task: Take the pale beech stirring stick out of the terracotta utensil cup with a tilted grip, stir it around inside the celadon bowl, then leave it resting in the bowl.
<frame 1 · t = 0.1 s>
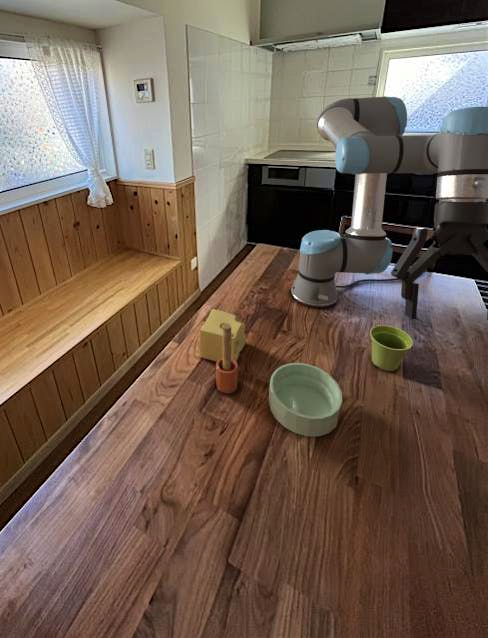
hand: (451, 319, 61), 28 cm above the table, tool tilted 20°, fingers open, 13 cm apart
bowl: (302, 407, 77), on the table
cheese: (222, 352, 95), on the table
stick: (226, 384, 83), point 1 cm above the table, touching utensil cup
utensil cup: (226, 386, 84), on the table
plant pot: (384, 363, 88), on the table
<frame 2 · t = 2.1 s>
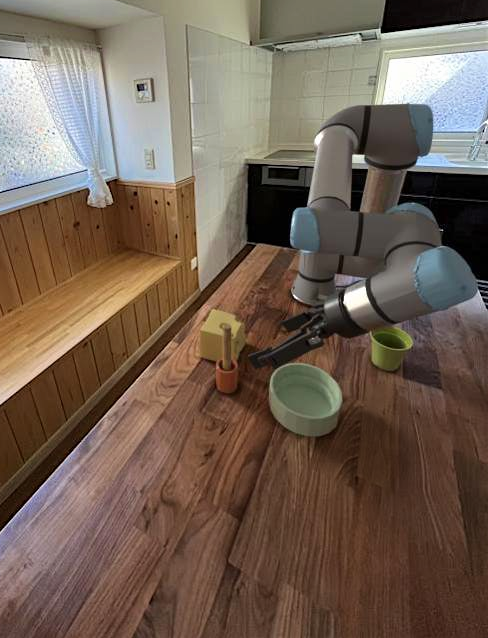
hand: (269, 343, 69), 19 cm above the table, tool tilted 45°, fingers open, 13 cm apart
nothing on the table moved.
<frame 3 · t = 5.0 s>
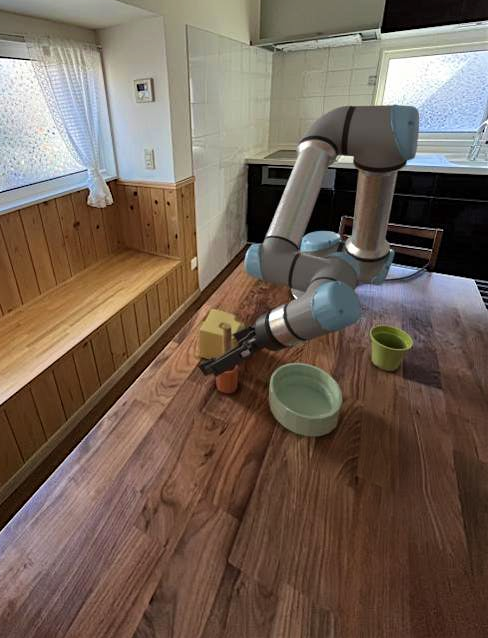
hand: (220, 353, 81), 10 cm above the table, tool tilted 45°, fingers open, 13 cm apart
cheese: (222, 351, 95), on the table, touching gripper
everything else where it was.
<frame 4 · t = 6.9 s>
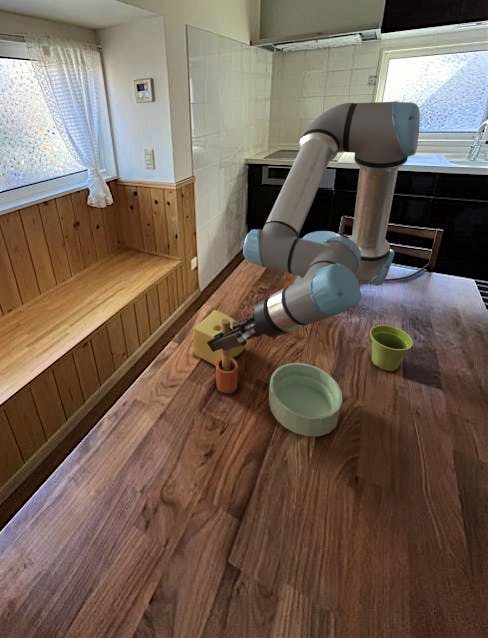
hand: (214, 343, 82), 11 cm above the table, tool tilted 45°, fingers closed on stick, 2 cm apart
cheese: (218, 354, 94), on the table
stick: (226, 380, 83), point 2 cm above the table, touching gripper
everything else where it was.
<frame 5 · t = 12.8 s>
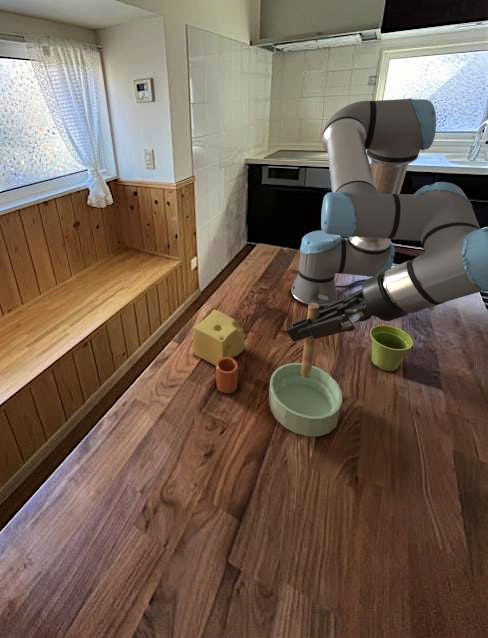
hand: (293, 332, 72), 20 cm above the table, tool tilted 45°, fingers closed on stick, 2 cm apart
stick: (305, 374, 73), point 10 cm above the table, touching gripper
everything else where it was.
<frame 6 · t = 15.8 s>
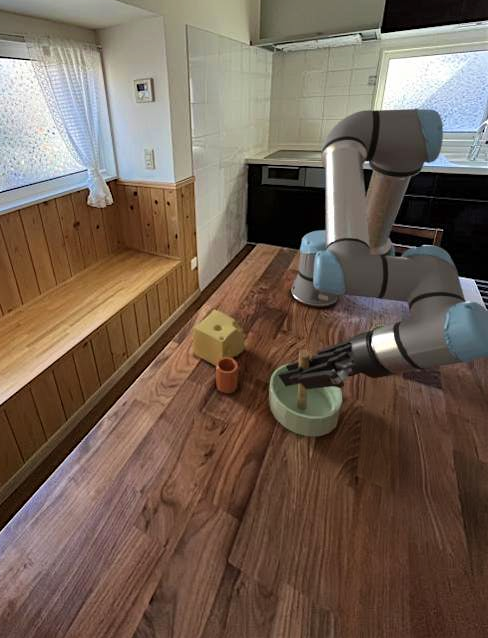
hand: (286, 375, 74), 10 cm above the table, tool tilted 45°, fingers closed on stick, 3 cm apart
stick: (302, 405, 77), point 1 cm above the table, tilted 10°, touching bowl, gripper
everything else where it was.
when the fingers open (8 cm above the table, at t = 18.6 s): stick stays where it is and tips over, resting on bowl.
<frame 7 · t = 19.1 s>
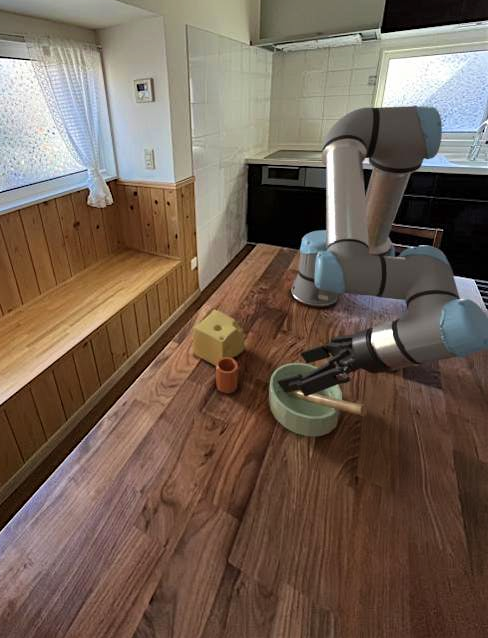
hand: (293, 371, 75), 9 cm above the table, tool tilted 45°, fingers open, 10 cm apart
stick: (289, 392, 79), point 1 cm above the table, tilted 63°, touching bowl
everything else where it was.
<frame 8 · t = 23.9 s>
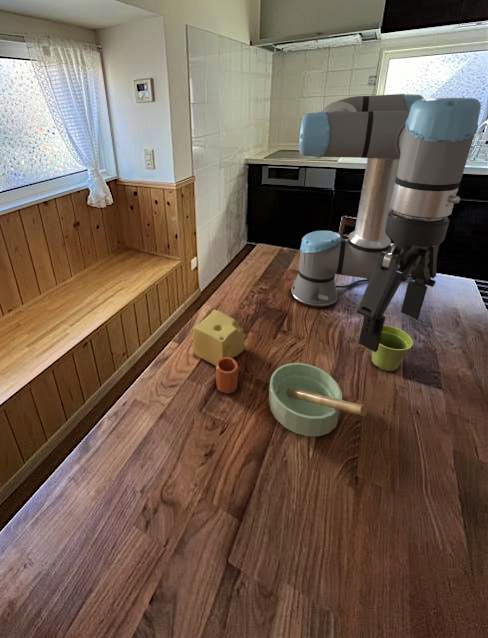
hand: (389, 330, 57), 29 cm above the table, tool pointing down, fingers open, 13 cm apart
nothing on the table moved.
at the end: stick inside the target area in the bowl (3.8 cm from its centre), point 1.5 cm above the bowl's base; stick moved 14.9 cm from its start; the gripper is holding nothing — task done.
